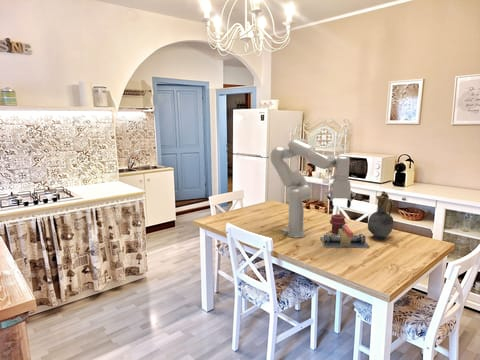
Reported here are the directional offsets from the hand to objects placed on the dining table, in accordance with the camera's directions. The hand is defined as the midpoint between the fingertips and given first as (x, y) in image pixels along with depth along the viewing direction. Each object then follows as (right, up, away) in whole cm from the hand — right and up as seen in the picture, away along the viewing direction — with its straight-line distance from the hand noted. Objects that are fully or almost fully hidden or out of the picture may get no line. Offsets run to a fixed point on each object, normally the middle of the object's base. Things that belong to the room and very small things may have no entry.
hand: (339, 207), depth 185 cm
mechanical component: (+7, -20, +29) cm, 36 cm away
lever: (+6, -16, +4) cm, 17 cm away
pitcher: (+33, -21, +20) cm, 44 cm away
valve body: (+6, -23, +11) cm, 26 cm away
